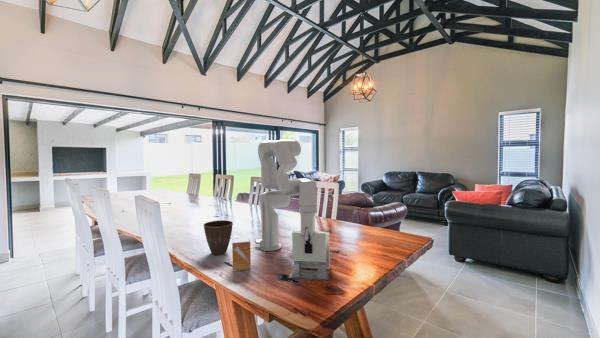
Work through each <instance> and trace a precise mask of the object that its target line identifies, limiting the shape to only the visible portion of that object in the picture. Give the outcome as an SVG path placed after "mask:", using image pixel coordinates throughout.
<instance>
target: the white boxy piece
mask: <svg viewBox="0 0 600 338" xmlns="http://www.w3.org/2000/svg"><path fill="white" fill-rule="evenodd" d="M330 250H331V249H330V232H326V262H313V261H293V263H291V272H290V274H289V276H288V278H289V279H290V280H291V279H292V280H310V281H311V280H312V281H324V282H325V281H328V279H329V274H330V271H329V270H330V267H331V262H330V261H331V259H330V258H331V257H330V256H331V255H330V252H331V251H330ZM302 268H303V269H302ZM308 269H309V270H308ZM313 269H317V270H313Z"/></svg>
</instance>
